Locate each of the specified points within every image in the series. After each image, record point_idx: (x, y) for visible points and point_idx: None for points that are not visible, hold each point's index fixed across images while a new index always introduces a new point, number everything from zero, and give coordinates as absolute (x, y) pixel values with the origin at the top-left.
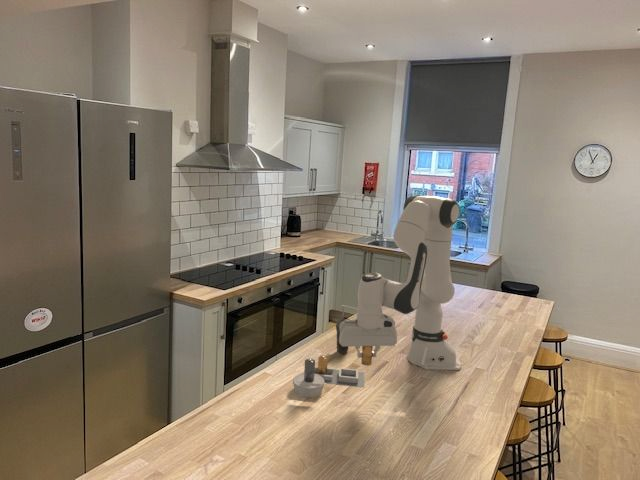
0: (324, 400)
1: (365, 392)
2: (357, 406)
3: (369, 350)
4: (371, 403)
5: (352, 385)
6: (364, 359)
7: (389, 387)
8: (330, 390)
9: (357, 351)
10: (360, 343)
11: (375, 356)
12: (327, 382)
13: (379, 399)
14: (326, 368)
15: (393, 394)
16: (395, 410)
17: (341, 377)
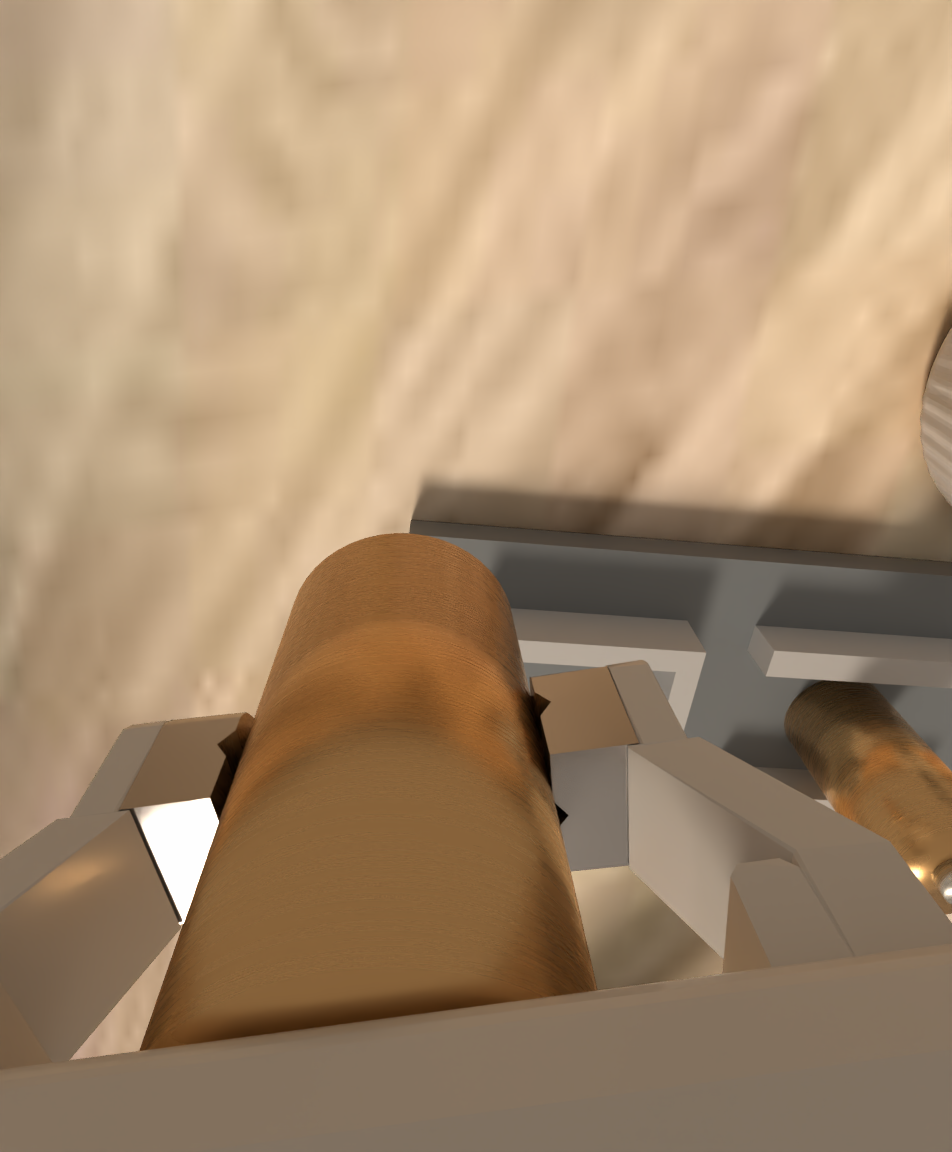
0: (922, 228)
1: (398, 477)
2: (530, 110)
3: (306, 817)
4: (340, 218)
5: (543, 556)
6: (470, 616)
7: (129, 612)
8: (787, 474)
9: (761, 773)
10: (938, 1146)
11: (144, 730)
12: (813, 585)
13: (237, 334)
14: (847, 755)
15: (74, 472)
16: (13, 49)
17: (672, 645)
